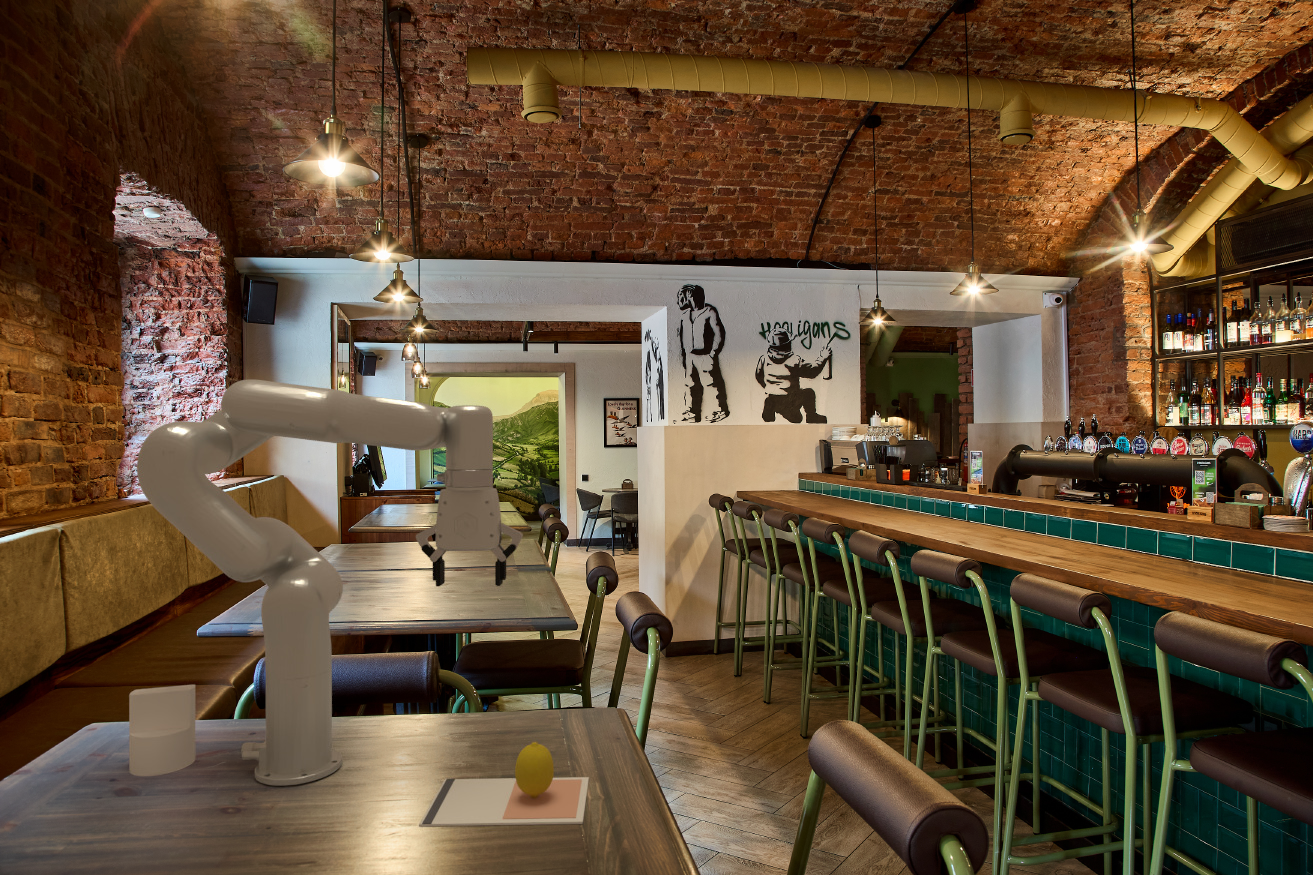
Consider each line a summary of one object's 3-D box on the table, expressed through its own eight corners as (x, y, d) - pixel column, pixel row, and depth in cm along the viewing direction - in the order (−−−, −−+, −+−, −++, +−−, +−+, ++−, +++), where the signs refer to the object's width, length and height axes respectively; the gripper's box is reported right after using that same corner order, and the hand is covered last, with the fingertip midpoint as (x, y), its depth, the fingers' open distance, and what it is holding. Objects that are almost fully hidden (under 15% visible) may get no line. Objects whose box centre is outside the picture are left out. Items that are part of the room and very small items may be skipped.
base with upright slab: (201, 750, 132) (201, 678, 132) (187, 771, 123) (187, 695, 123) (139, 757, 129) (139, 684, 129) (121, 779, 120) (121, 701, 121)
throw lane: (419, 826, 105) (419, 823, 105) (444, 781, 119) (444, 778, 119) (582, 823, 106) (582, 820, 106) (588, 778, 120) (588, 776, 120)
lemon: (557, 790, 115) (557, 735, 115) (548, 807, 110) (548, 750, 110) (520, 788, 116) (520, 734, 116) (510, 805, 110) (510, 748, 110)
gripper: (409, 482, 125) (410, 589, 125) (518, 481, 125) (519, 588, 125) (422, 479, 132) (422, 581, 132) (525, 479, 133) (525, 580, 133)
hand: (469, 584), depth 129 cm, fingers open, 9 cm apart
